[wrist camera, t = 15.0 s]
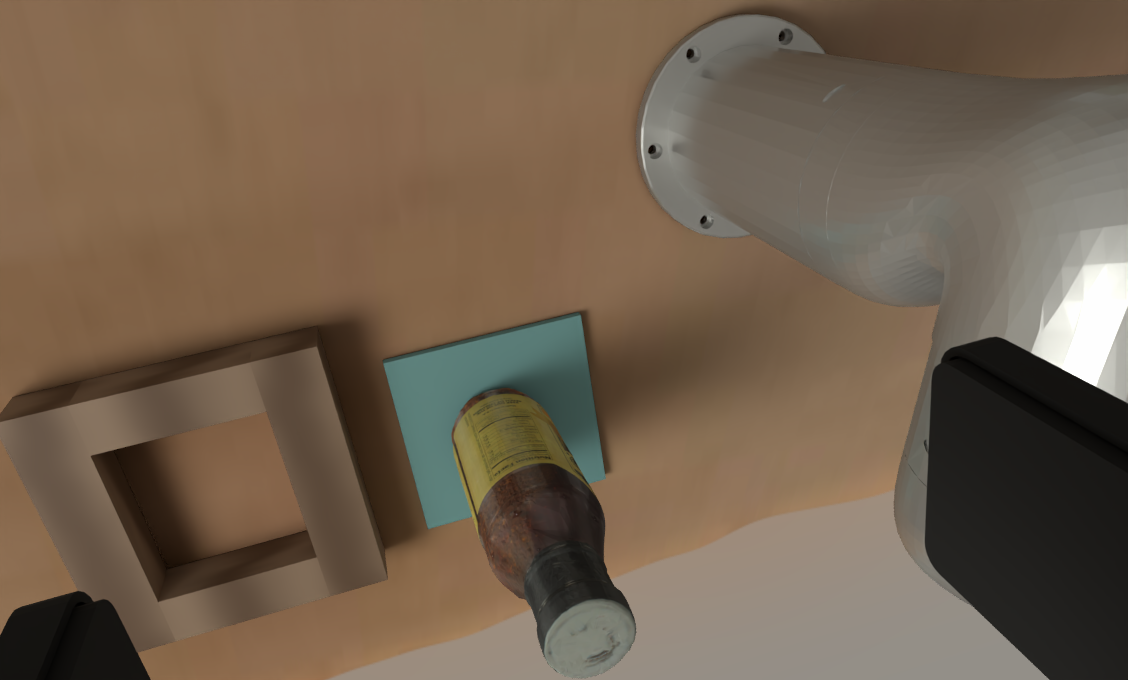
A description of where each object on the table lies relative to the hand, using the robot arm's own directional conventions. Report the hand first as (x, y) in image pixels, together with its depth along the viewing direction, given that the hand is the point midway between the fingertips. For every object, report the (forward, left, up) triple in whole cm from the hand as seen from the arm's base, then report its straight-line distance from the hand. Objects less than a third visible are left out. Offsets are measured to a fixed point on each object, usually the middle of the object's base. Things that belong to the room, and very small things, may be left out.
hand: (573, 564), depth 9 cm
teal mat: (-3, +20, -38) cm, 43 cm away
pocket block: (+14, +19, -38) cm, 45 cm away
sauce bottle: (-3, +20, -38) cm, 43 cm away
